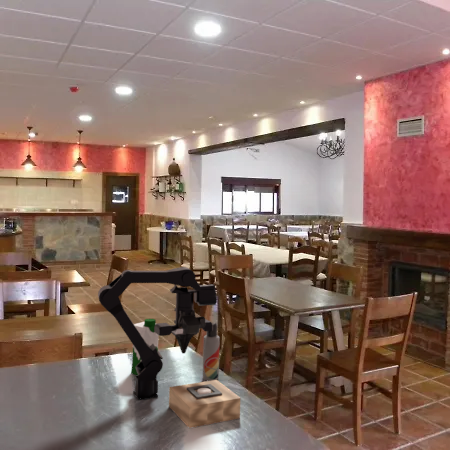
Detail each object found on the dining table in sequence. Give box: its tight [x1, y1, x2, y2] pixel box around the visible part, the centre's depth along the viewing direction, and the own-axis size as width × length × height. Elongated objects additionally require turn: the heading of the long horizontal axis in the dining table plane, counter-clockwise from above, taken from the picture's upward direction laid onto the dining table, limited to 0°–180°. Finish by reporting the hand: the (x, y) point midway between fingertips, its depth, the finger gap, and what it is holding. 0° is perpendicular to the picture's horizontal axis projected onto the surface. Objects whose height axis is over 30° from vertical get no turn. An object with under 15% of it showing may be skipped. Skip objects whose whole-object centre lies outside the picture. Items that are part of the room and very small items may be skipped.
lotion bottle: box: [202, 322, 220, 381], centre depth 174 cm, size 6×6×20 cm
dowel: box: [197, 388, 211, 395], centre depth 145 cm, size 4×4×6 cm
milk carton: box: [130, 318, 159, 376], centre depth 177 cm, size 9×9×20 cm
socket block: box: [168, 379, 241, 429], centre depth 145 cm, size 16×16×7 cm
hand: (183, 353), depth 160 cm, fingers closed
